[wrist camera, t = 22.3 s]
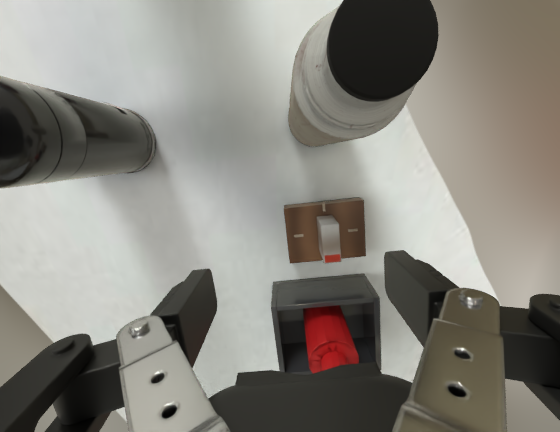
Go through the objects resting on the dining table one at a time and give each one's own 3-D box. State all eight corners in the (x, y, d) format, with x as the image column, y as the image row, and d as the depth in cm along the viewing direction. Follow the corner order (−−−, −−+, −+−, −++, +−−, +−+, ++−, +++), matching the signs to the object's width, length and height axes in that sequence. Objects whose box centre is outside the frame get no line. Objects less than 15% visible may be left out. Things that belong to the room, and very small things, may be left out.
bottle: (304, 330, 46) (316, 430, 30) (301, 297, 45) (311, 382, 28) (342, 327, 46) (374, 425, 29) (340, 293, 44) (373, 377, 28)
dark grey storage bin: (281, 343, 48) (280, 378, 41) (273, 281, 45) (270, 306, 38) (366, 336, 47) (381, 370, 40) (364, 273, 44) (379, 296, 37)
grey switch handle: (316, 216, 40) (321, 225, 34) (332, 214, 39) (339, 224, 34) (319, 250, 41) (324, 264, 36) (334, 248, 41) (341, 262, 36)
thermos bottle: (346, 93, 38) (505, -60, 11) (336, 149, 40) (450, 143, 12) (292, 86, 38) (310, -87, 10) (284, 143, 40) (285, 121, 12)
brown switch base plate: (289, 259, 44) (290, 265, 41) (283, 203, 42) (283, 206, 39) (361, 252, 44) (366, 258, 41) (359, 195, 41) (364, 197, 39)
